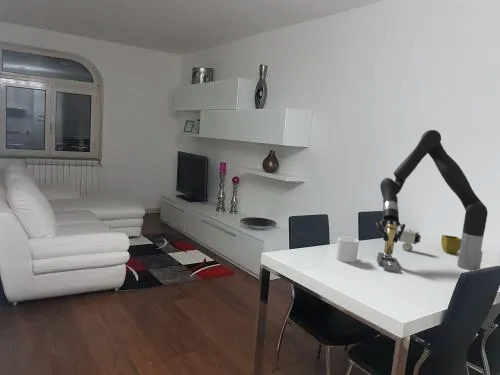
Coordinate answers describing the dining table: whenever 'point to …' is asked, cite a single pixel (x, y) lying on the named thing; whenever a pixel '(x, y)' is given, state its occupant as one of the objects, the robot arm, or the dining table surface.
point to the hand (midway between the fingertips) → (390, 241)
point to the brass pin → (390, 238)
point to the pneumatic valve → (409, 239)
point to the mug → (347, 249)
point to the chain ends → (388, 262)
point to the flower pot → (450, 244)
